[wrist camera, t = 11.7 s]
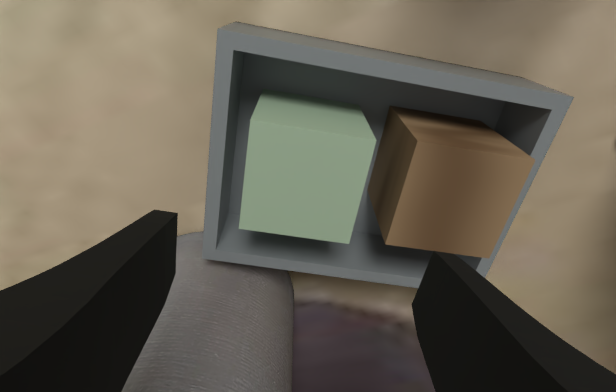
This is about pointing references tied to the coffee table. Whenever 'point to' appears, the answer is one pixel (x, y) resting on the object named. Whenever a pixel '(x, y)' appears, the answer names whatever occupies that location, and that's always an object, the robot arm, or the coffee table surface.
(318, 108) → the sage block
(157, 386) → the pillar candle
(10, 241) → the coffee table surface
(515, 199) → the walnut block
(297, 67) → the tray
